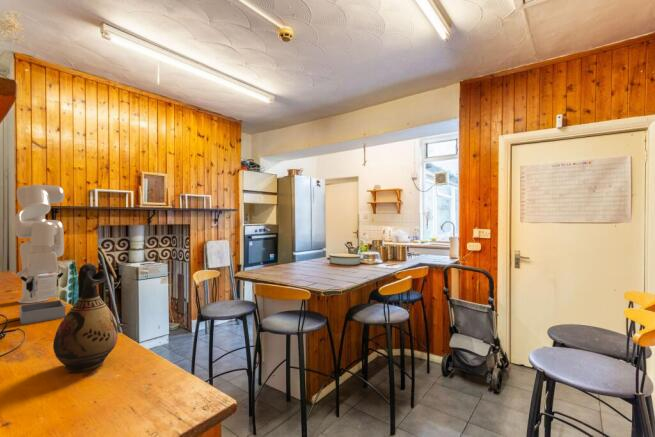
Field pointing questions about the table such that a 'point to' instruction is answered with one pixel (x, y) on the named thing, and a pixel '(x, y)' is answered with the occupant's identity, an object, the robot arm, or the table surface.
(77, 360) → the ceramic jug
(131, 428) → the table surface
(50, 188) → the robot arm
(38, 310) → the tray
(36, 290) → the light bulb box
